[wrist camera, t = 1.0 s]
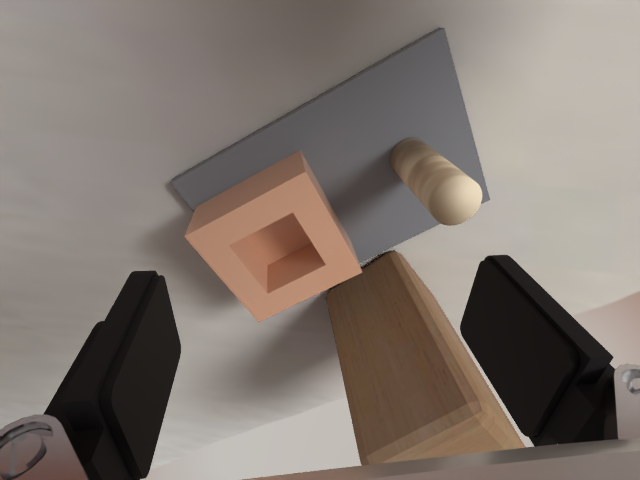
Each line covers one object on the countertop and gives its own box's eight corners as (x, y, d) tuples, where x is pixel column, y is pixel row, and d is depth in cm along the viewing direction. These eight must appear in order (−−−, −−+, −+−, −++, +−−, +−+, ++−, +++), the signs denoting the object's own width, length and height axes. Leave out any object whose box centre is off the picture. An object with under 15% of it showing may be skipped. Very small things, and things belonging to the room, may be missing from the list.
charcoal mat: (438, 27, 29) (444, 27, 28) (484, 195, 38) (489, 199, 37) (172, 178, 33) (170, 182, 32) (270, 300, 41) (270, 306, 40)
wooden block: (434, 296, 44) (538, 466, 27) (367, 337, 46) (424, 518, 29) (394, 243, 39) (489, 410, 22) (321, 292, 42) (357, 477, 25)
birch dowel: (420, 130, 32) (475, 168, 24) (432, 164, 34) (487, 210, 25) (384, 149, 33) (424, 193, 24) (397, 181, 34) (440, 233, 26)
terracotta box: (300, 149, 32) (305, 171, 27) (350, 241, 37) (362, 272, 33) (196, 206, 33) (184, 236, 29) (259, 286, 39) (258, 322, 34)
